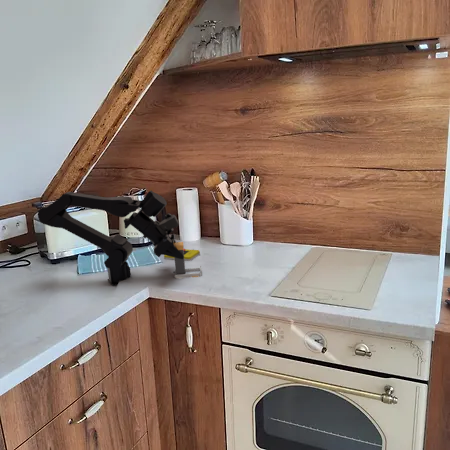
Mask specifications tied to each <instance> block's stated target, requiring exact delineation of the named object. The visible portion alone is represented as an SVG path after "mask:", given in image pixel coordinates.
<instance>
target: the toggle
mask: <svg viewBox="0 0 450 450" xmlns="http://www.w3.org/2000/svg"><path fill="white" fill-rule="evenodd" d="M174 245H175V247H176V248H177V249H178V250H179V251H180V252H181V253H182V254H183V256H184V249H185V247H184V246H185V245H184V241H178V242H177V241H176V242H175V243H174ZM185 263H186V261H184V258H183V259H179V258H175V260H174V264H175V265H174V267H175V268H174V270H176V273H175V275H178V274H187V272H186V269H187V268H186V264H185Z"/></svg>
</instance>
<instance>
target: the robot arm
mask: <svg viewBox="0 0 450 450" xmlns="http://www.w3.org/2000/svg"><path fill="white" fill-rule="evenodd" d="M167 204H168V202H167V200H166V199H165V197H163V196H162V195H159V194H158V193H157V192H154V191H153V190H149V191H148V192H147V193H146V195H145V197H143V198H142V200H140V199H139V200H138V199H133V198H132V197H130V196H126V195H125V196H111V197H105V196H98V195H92V194H87V193H86V194H85V193H77V192H74V191H68V192H67V191H66V192H65V193H63V194H61V196H60V197H58V198H57V199H56V200H55V201H53V202H52V203H50V204H47V205H46V206H43V207H41V208H39V210H38V211H37V219H38V221H39V223H41V224H43V225H45V226H49V227H51V228H58V229H62V230H65V231H67V232H68V233H71V234H72V235H75V236H77V237H79V238H81V239H82V240H85V242H88V243H90V244H92V245H93V246H96V247H97V248H100V249H101V250H102V251H103V252H104V254H105V255H106V256H107V258H106V259H105V261H104V262H103V263H104V265H105V268H107V275H108V278H107V282H108V283H109V284H110V285H111V286H118V285H119V282H121V281H125V280H127V279H129V278H131V277H132V275H131V273H132V272H131V266H130V265H129V262H128V260H129V257H130V256H131V255H132V254H133V251H134V250H133V247H134V246H133V244H132V243H131V242H130V241H129V239H128V238H124V237H123V236H121V235H119V234H115V235H114V236H110V235H107V234H105V233H103V232H101V231H99V230H97V229H95V228H93V227H92V226H91V225H90V226H89V225H88V224H86V223H84V222H83V221H80V220H78V219H76V218H74V217H72V216H71V215H70V213H69V212H68V211H67V209H69V207H78V208H83V209H84V208H85V209H91V210H92V209H93V210H100V211H104V212H107V214H110V215H113V216H115V217H118V218H124V219H123V223H124V229H128V228H129V227H130V226H132V227H133V228H134V229H135V230H137V231H138V232H139V233H141V235H142V237H143V238H144V239H148V240H149V241H150V242H151V243H153V244H152V245H153V247H154V248H153V254H154V255H155V256H156V257H158V258H160V257H161V256H164V255H167V256H171V257H175V258H179V259H183V258H184V256H183V254H182V253H181V252H180V251H179V250H178V249H177V248H176V247H175V245H174V243H175V242H177V241H176V239H175V238H176V237H175V233H174V228H177V227H178V226H180V221H179V220H178V219H177V216H176V214H171V213H170V212H169V213H167V214H165V216H164V219H163V220H162V221H158V220H154V219H153V218H151V217H156V216H158V215H159V214H160V212H162V210H163V209H164V208H165V207H166V206H167ZM137 210H139V211H137ZM136 211H137V212H136ZM131 213H132V214H131ZM130 214H131V215H130ZM129 215H130V216H129ZM127 216H129V217H127ZM126 217H127V218H126Z"/></svg>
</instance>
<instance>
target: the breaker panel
mask: <svg viewBox="0 0 450 450" xmlns="http://www.w3.org/2000/svg"><path fill="white" fill-rule="evenodd" d="M185 269H186V274H178V275H176V269H174V271H172V273H173V274H174V273H175V274H174V279H185V278H199V277H201V276H202V275H203V272H202V271H203V270H202V269H203V268H202V265H200V266H199V267H192V268H191V267H190V268H185ZM191 272H193V273H191Z"/></svg>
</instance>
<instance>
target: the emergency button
mask: <svg viewBox="0 0 450 450" xmlns="http://www.w3.org/2000/svg"><path fill="white" fill-rule="evenodd" d="M199 256H201V252H200V250H199V249H186V248H184V261H185V262H192V261H193V260H194V259H196V258H198V257H199ZM163 260H166V261H167V260H169V261H175V257H171V256H167V255H163Z"/></svg>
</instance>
